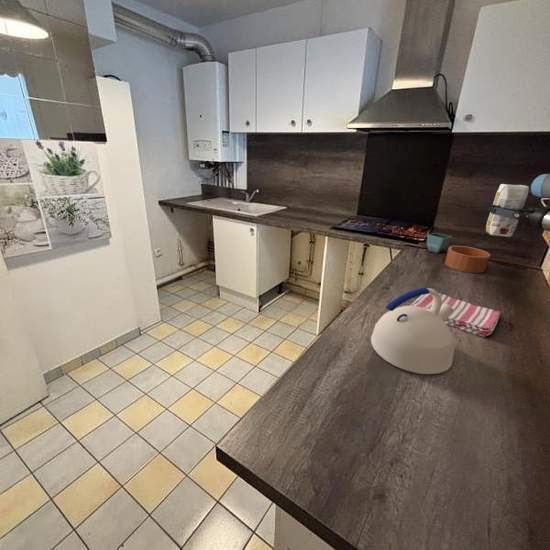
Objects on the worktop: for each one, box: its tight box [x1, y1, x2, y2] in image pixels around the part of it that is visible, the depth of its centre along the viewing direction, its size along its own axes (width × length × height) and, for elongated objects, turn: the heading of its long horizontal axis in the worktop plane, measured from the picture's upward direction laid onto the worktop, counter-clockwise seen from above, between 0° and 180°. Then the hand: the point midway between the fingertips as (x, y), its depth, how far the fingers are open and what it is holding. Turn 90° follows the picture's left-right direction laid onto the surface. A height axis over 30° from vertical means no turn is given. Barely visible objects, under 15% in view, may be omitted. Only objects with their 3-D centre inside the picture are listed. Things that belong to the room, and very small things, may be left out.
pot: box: [444, 245, 491, 274], centre depth 137 cm, size 17×17×8 cm
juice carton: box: [485, 183, 530, 238], centre depth 113 cm, size 8×9×19 cm
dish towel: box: [409, 292, 502, 338], centre depth 95 cm, size 17×23×4 cm
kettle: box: [370, 287, 456, 375], centre depth 75 cm, size 20×21×18 cm
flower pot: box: [426, 232, 452, 254], centre depth 156 cm, size 9×9×9 cm
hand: (497, 207), depth 116 cm, fingers closed on juice carton, 9 cm apart
